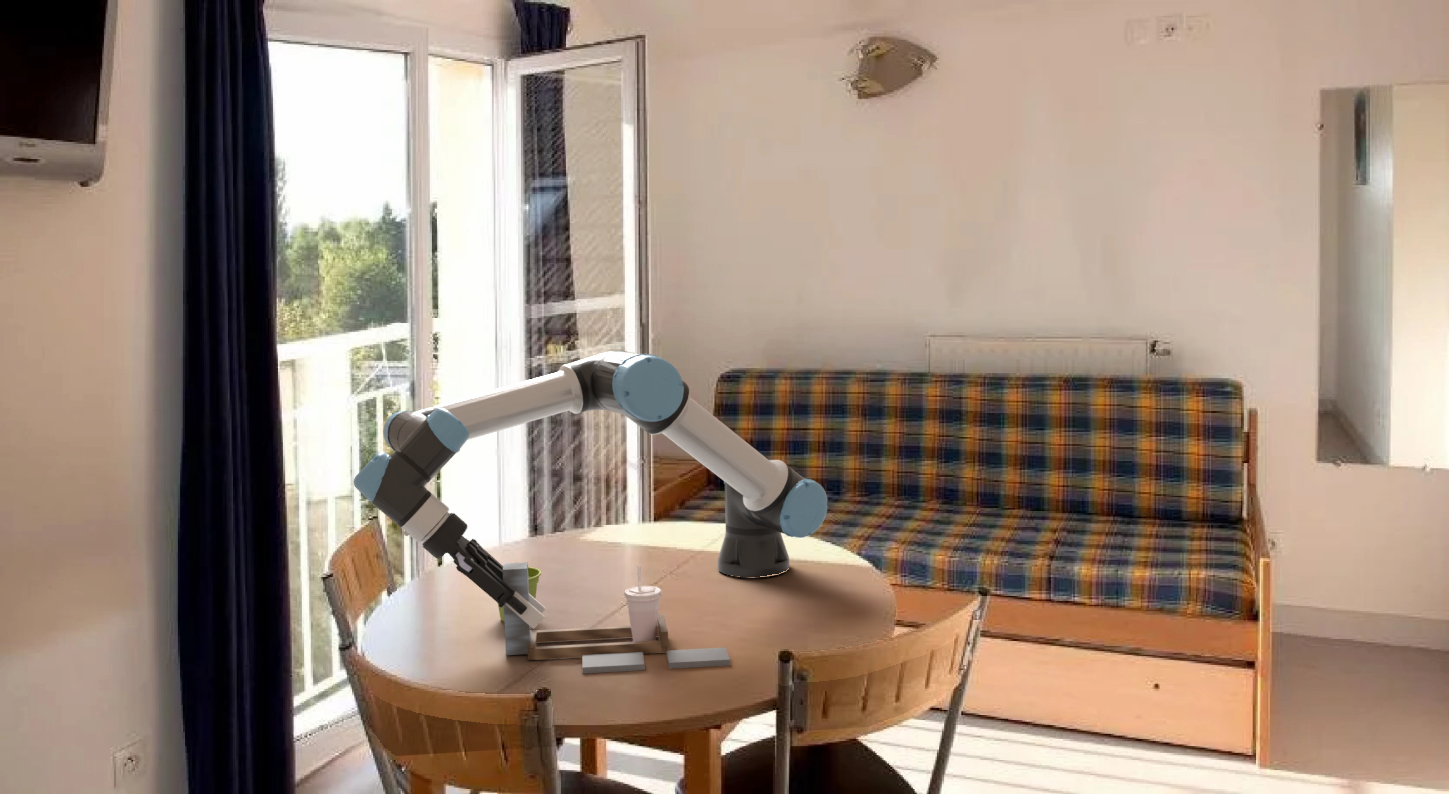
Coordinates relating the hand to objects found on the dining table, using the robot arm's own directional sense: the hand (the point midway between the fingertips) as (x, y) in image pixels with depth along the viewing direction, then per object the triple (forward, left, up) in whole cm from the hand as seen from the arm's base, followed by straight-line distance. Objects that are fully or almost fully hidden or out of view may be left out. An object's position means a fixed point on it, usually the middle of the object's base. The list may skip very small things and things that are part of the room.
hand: (539, 618), depth 208 cm
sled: (-8, 0, -6) cm, 10 cm away
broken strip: (-19, +9, -6) cm, 22 cm away
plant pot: (+5, -19, -6) cm, 21 cm away
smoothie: (-18, 0, -6) cm, 19 cm away
